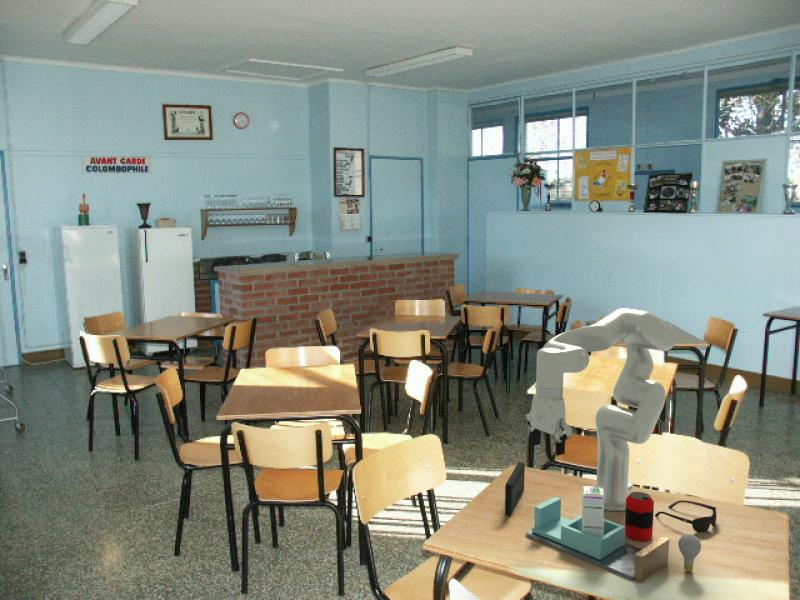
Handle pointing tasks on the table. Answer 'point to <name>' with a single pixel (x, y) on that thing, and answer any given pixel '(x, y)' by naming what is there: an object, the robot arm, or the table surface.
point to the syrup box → (593, 511)
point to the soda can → (639, 516)
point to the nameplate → (514, 488)
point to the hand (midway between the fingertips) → (547, 449)
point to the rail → (622, 557)
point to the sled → (576, 531)
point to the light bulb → (689, 550)
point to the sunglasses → (698, 523)
